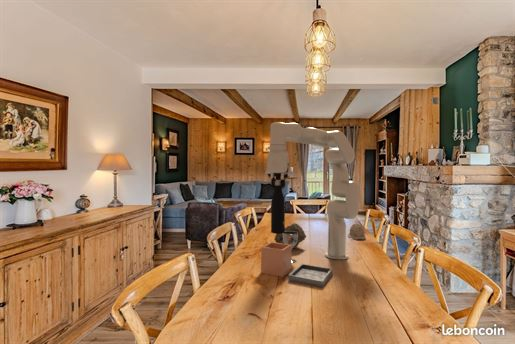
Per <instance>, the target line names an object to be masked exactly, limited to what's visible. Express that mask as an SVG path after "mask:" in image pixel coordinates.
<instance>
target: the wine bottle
mask: <svg viewBox="0 0 515 344" xmlns="http://www.w3.org/2000/svg"><path fill="white" fill-rule="evenodd" d="M274 176H275V180H276V181H275V185H274V188H273V193H272V196H271V202H270V207H271V209H270V211H271V212H270V216H271V217H270V218H271V219H270V223H271V224H270V232H271V233H272V234H275V235H276V234H282V233H285V225H286V224H285V223H286V221H285V218H286V217H285V215H286V214H285V213H286V212H285V211H286V207H285V206H286V200H285V197H284V193H283V188H281V180H282V177H281V173H274Z"/></svg>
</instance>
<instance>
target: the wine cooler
mask: <svg viewBox="0 0 515 344" xmlns="http://www.w3.org/2000/svg"><path fill="white" fill-rule="evenodd" d="M260 249H261V250H260V273H261V274H266V275H271V276H277V277H282V278H283V277H285V276H286V275H287V274H288V273H289V272H291V271H292V264H293V263H292V259H293V258H292V256H293V254H292V252H293V248H292V245H289V244H282V243H276V241H275V242H274V241H273V242H272V241H270V242H268V243H266V244H265V245H262V246H261V247H260Z"/></svg>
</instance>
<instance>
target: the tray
mask: <svg viewBox="0 0 515 344" xmlns="http://www.w3.org/2000/svg"><path fill="white" fill-rule="evenodd" d="M332 275H333V268H331V267H326V266H325V267H324V266H317V265H311V264H307V263H306V264H305V263H301V264H299V266H298V267H296V268H295V269H293V271H291V272H290V273H289V274H288V276H287V277H288V279H287V280H288V282H290V283H291V282H292V283H297V284H302V285H307V286H312V287H319V288H324V286H326V284H327V282H328V281H329V280H330V278H331V277H332Z"/></svg>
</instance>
